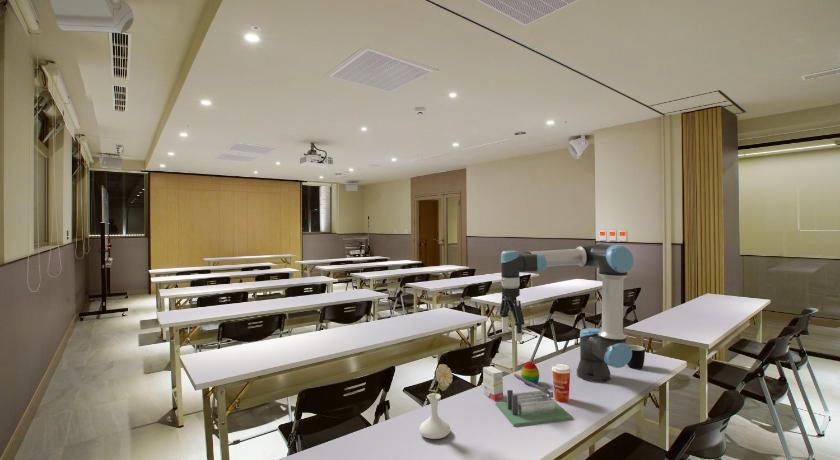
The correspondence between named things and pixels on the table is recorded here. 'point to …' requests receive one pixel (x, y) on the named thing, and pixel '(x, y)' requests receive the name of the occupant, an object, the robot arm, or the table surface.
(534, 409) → the block
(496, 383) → the ink box
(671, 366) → the table surface
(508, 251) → the robot arm
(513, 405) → the lug posts
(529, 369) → the decorative egg
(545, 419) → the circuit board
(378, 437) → the table surface
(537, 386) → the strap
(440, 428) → the flower in vase
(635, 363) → the mug
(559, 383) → the paper cup
